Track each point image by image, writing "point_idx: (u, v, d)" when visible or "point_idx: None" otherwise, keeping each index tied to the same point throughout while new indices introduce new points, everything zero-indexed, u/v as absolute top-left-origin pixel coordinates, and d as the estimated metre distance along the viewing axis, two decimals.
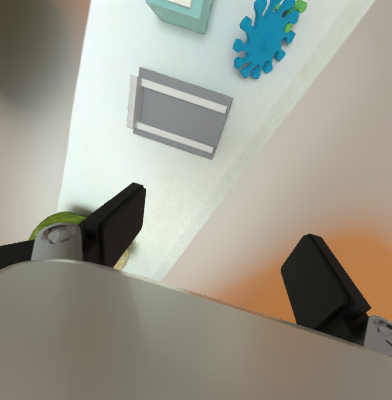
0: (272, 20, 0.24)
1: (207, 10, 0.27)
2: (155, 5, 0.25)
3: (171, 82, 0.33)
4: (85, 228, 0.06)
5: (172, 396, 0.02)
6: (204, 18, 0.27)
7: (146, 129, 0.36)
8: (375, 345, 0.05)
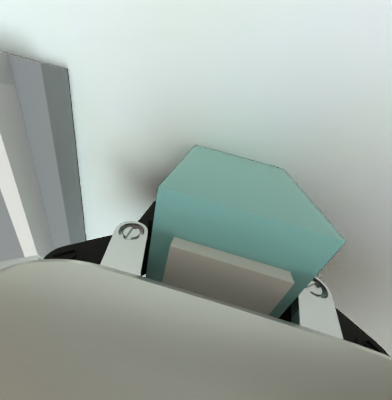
0: None
1: None
2: None
3: (50, 183, 0.11)
4: (149, 226, 0.07)
5: (172, 396, 0.02)
6: None
7: None
8: (306, 301, 0.06)
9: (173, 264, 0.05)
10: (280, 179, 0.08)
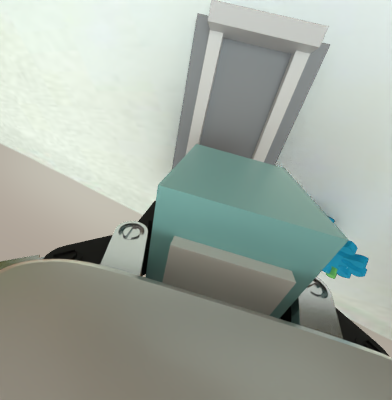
0: (334, 262, 0.21)
1: None
2: None
3: (287, 120, 0.18)
4: (149, 226, 0.07)
5: (172, 396, 0.02)
6: None
7: (207, 60, 0.16)
8: (306, 301, 0.06)
9: (173, 264, 0.05)
10: (281, 178, 0.08)
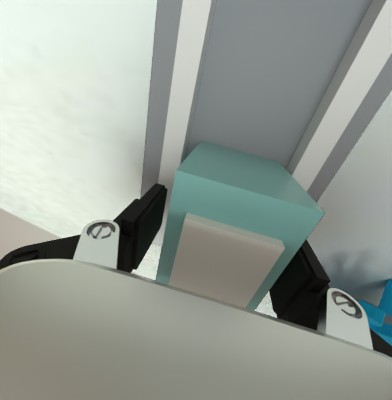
0: None
1: None
2: None
3: (349, 128, 0.09)
4: (122, 225, 0.07)
5: (172, 396, 0.02)
6: None
7: None
8: (335, 317, 0.06)
9: (186, 235, 0.07)
10: (276, 169, 0.09)
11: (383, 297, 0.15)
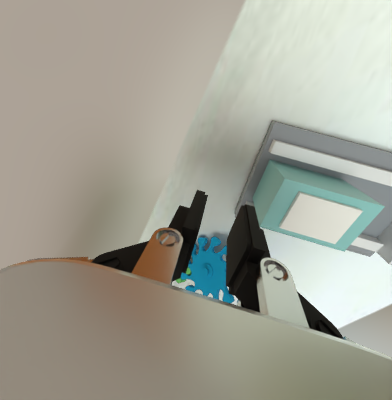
0: (202, 287, 0.25)
1: (264, 184, 0.19)
2: (365, 200, 0.14)
3: None
4: (182, 232, 0.07)
5: (172, 396, 0.02)
6: (271, 177, 0.17)
7: None
8: (271, 288, 0.06)
9: (352, 210, 0.14)
10: None
11: None
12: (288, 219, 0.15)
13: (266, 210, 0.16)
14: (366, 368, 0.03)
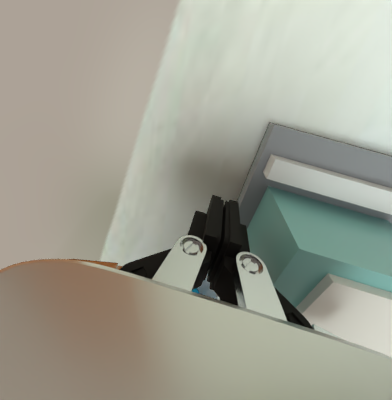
0: None
1: (258, 230, 0.11)
2: None
3: None
4: (204, 240, 0.07)
5: (172, 396, 0.02)
6: (270, 223, 0.10)
7: None
8: (248, 284, 0.06)
9: None
10: None
11: None
12: None
13: None
14: (366, 368, 0.03)
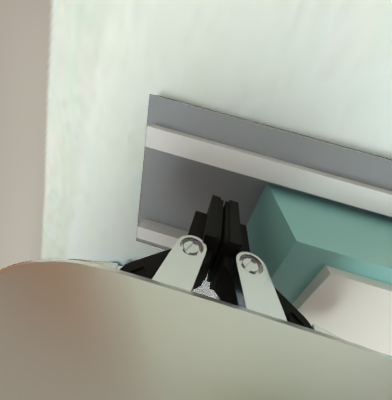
0: None
1: (258, 226, 0.11)
2: None
3: None
4: (204, 240, 0.07)
5: (172, 396, 0.02)
6: (268, 218, 0.10)
7: (384, 199, 0.10)
8: (248, 284, 0.06)
9: None
10: None
11: None
12: (302, 312, 0.08)
13: None
14: (366, 368, 0.03)
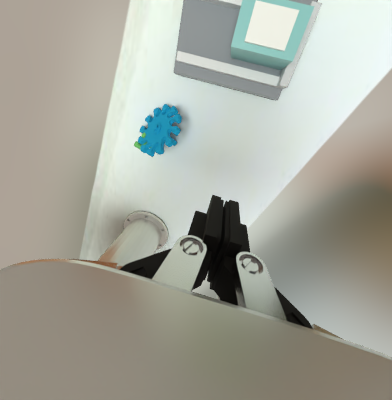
0: (152, 140, 0.32)
1: None
2: None
3: (242, 85, 0.29)
4: (204, 240, 0.07)
5: (172, 396, 0.02)
6: None
7: None
8: (248, 284, 0.06)
9: (292, 11, 0.20)
10: None
11: (170, 137, 0.35)
12: (249, 30, 0.21)
13: (235, 29, 0.22)
14: (366, 368, 0.03)
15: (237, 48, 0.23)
